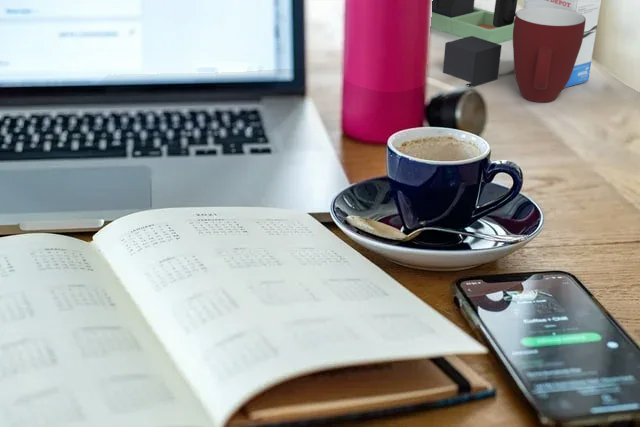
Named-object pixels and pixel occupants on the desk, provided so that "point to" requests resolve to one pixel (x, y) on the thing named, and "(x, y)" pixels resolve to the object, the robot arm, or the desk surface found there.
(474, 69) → the dark grey block
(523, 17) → the mug
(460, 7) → the black block
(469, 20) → the holder
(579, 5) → the ink box
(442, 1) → the robot arm
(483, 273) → the desk surface
